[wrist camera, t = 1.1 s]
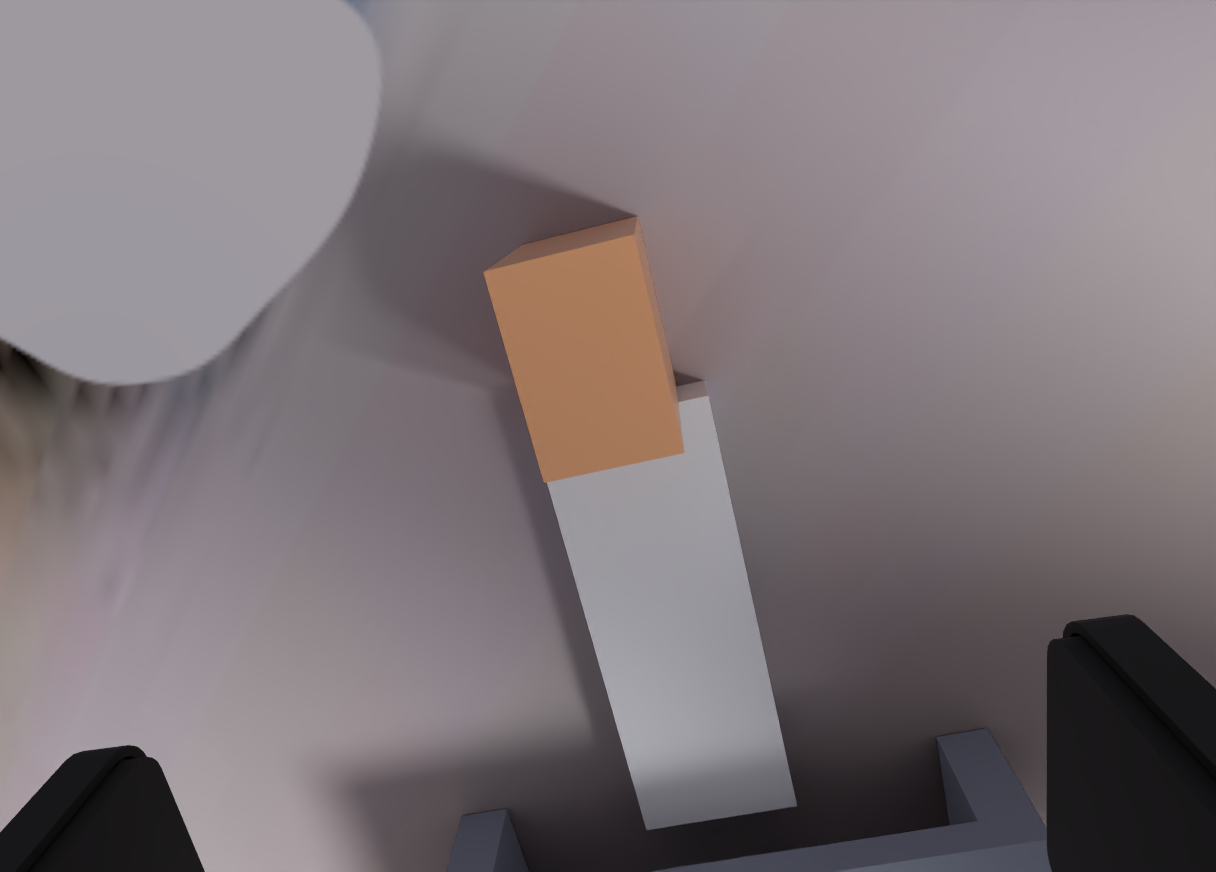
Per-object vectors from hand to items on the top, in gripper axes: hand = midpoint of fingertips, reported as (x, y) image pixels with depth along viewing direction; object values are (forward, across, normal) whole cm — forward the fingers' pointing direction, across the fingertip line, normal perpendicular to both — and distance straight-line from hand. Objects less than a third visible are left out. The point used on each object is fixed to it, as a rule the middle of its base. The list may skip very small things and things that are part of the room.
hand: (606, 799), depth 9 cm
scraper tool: (+21, 0, +7) cm, 23 cm away
